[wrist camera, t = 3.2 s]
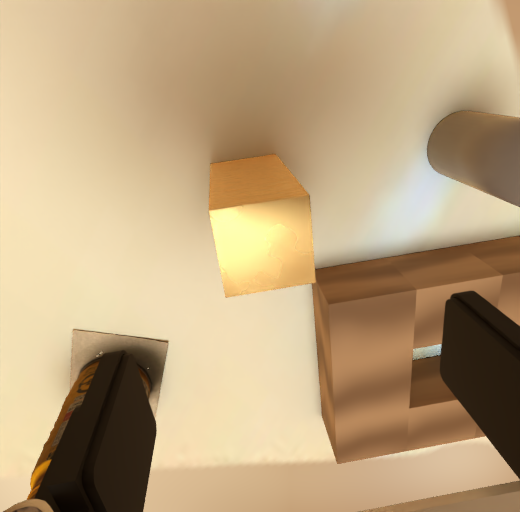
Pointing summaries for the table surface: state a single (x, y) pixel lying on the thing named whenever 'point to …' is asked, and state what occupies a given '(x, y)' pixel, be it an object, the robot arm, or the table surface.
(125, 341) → the condiment
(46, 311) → the table surface
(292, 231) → the square peg
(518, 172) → the round peg
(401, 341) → the socket block
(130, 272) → the table surface
